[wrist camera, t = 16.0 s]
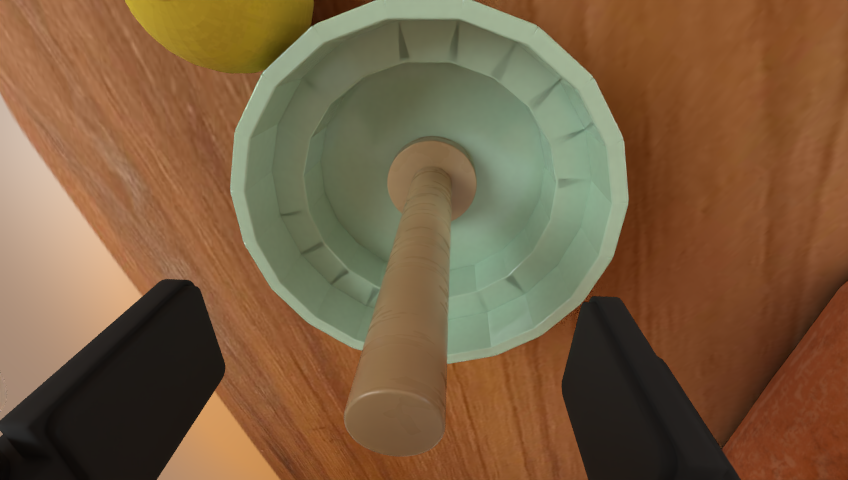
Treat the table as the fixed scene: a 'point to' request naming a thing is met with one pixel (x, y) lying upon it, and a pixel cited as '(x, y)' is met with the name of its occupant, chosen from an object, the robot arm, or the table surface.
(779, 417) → the bread
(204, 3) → the lemon
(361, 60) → the bowl
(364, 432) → the wooden peg with base
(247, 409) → the table surface
